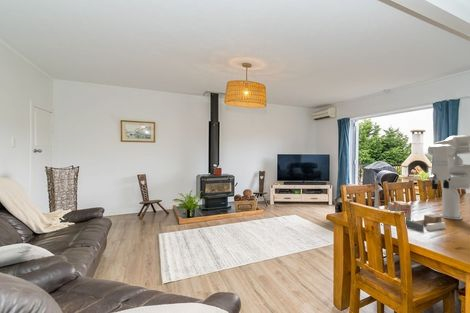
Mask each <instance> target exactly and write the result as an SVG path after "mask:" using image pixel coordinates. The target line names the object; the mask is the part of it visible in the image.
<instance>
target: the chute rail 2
mask: <svg viewBox="0 0 470 313" xmlns="http://www.w3.org/2000/svg"><path fill="white" fill-rule="evenodd" d="M441 229H446V222H444V221H442V222H437V223H430V224H426V231H427V230H428V231H435V230H441Z"/></svg>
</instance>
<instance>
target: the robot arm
mask: <svg viewBox="0 0 470 313" xmlns="http://www.w3.org/2000/svg"><path fill="white" fill-rule="evenodd" d="M427 153H428V155H429V156H432V159H433V164H432V167H431V173H430V176H429V180H430V182H431V189H432V190H436V191H437V190H438V188H439V186H438V185H439V184H438V182H440V184H441V190H442V191H441V192H442V193H441V195H442V196H441V213H439V215H438V216H442V218H444V219H448V220H463V216H461V215H463V212H462V211H460V192H458V190H456V189H459V190H470V164H464V160H463V159H462V158H461V157H460V156H459V155H470V135H466V134H465V135H464V134H463V135H451V136H449V137H447V138H445V140H440V141H436V142H433V143H431V144H430V145H429V146H428V148H427Z"/></svg>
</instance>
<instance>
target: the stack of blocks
mask: <svg viewBox="0 0 470 313" xmlns="http://www.w3.org/2000/svg"><path fill="white" fill-rule="evenodd" d="M388 210H390V211H404V213H405V217H406V220H409V221H412V220H411V219H412V218H411V217H412V216H411V215H412V214H411V213H412V205H411V204H409V203H408V202H405V201H402V200H393V202H387V211H388Z"/></svg>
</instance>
